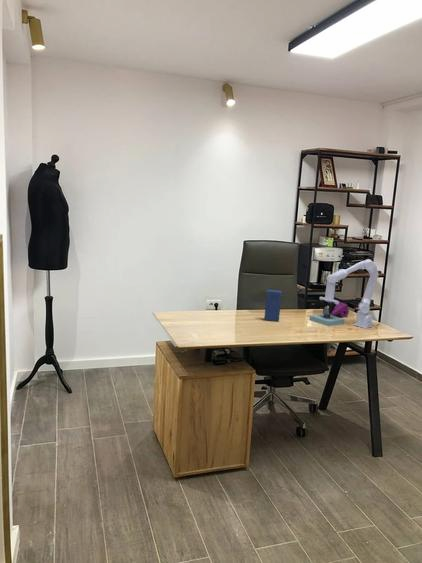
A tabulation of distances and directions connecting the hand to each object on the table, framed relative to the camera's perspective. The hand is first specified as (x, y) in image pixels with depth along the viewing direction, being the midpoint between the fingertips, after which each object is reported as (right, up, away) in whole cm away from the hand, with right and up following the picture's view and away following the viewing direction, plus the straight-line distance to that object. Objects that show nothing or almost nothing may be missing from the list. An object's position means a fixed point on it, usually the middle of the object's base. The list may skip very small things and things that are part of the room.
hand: (327, 312), depth 310 cm
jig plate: (0, -6, +1) cm, 6 cm away
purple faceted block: (+9, -4, +19) cm, 21 cm away
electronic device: (-38, -5, -5) cm, 39 cm away
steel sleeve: (0, -3, 0) cm, 3 cm away
